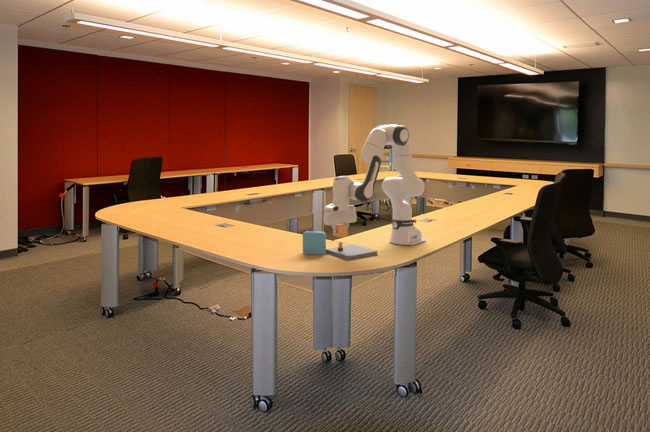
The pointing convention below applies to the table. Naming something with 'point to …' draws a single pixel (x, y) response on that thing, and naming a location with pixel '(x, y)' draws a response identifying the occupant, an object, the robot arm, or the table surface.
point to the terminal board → (350, 251)
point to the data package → (314, 242)
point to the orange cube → (341, 230)
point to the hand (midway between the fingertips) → (340, 231)
